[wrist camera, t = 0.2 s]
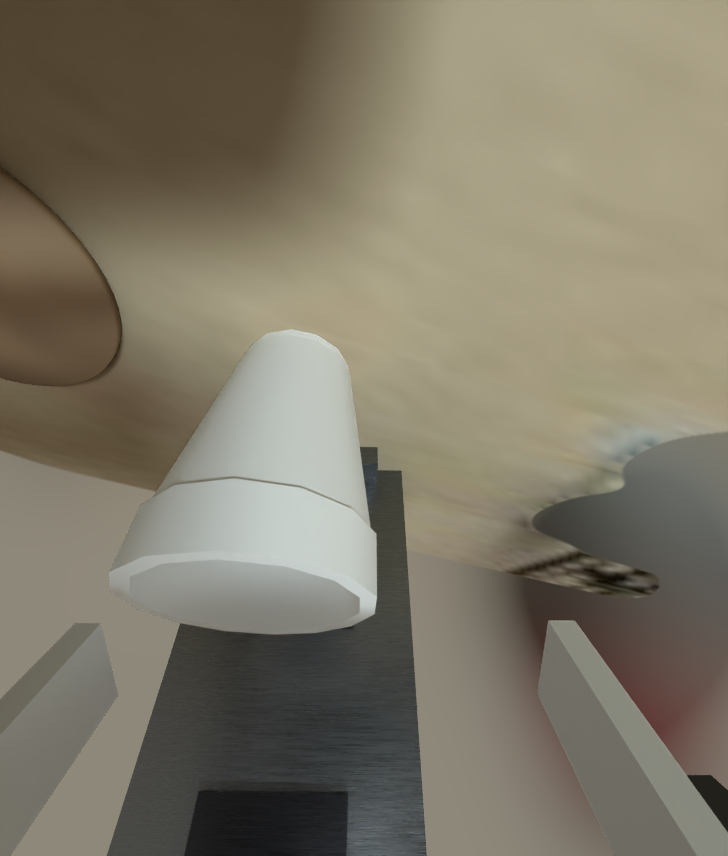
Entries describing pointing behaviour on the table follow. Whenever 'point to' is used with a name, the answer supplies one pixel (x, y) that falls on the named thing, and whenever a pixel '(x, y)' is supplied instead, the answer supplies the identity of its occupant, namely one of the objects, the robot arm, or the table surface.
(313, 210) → the table surface
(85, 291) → the coaster
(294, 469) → the foam cup
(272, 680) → the post
